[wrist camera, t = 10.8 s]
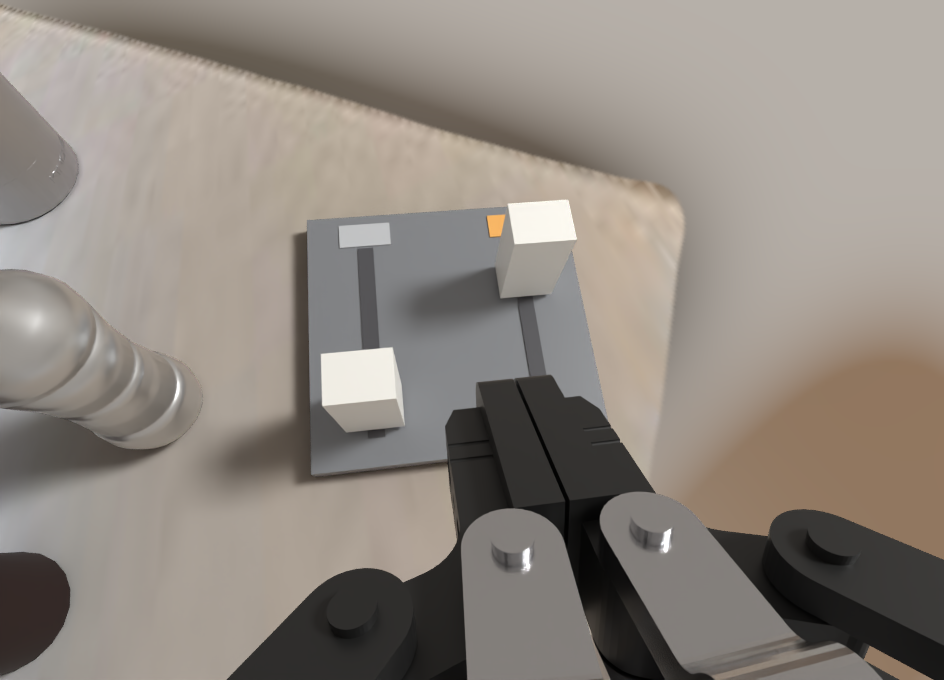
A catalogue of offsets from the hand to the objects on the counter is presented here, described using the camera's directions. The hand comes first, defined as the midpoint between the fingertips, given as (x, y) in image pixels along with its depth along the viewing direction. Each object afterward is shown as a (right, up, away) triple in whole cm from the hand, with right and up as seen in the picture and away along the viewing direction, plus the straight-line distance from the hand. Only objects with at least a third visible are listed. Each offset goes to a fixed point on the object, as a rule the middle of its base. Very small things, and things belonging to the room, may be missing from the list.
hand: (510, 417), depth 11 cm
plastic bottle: (-23, -3, +27) cm, 36 cm away
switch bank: (-3, +2, +30) cm, 30 cm away
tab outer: (+3, +6, +30) cm, 31 cm away
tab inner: (-8, -3, +26) cm, 27 cm away
